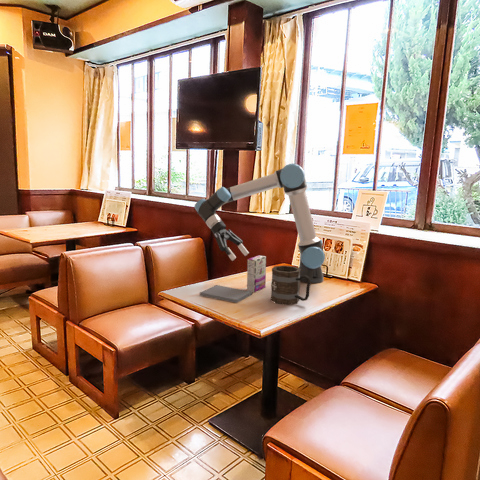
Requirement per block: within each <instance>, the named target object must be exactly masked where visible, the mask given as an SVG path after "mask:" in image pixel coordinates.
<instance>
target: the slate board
mask: <svg viewBox="0 0 480 480" xmlns="http://www.w3.org/2000/svg"><path fill="white" fill-rule="evenodd" d="M252 294H253V292H252V291H247V289H246V290H245V289H239V288H235V287H229V286H224V285H218V284H215V285H214V286H212V287H209V288H207V289H205V290H203V291H200V292H199V296H201V297H206V298H210V299H215V300H219V301H226V302H231V303H234V304H238V303H239V302H241V301H242V300H244V299H246V298H247V297H250V296H252Z"/></svg>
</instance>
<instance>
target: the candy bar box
mask: <svg viewBox="0 0 480 480" xmlns="http://www.w3.org/2000/svg"><path fill="white" fill-rule="evenodd" d="M246 261H247V263H246V264H247V266H246V267H247V270H246V271H247V272H246V274H247V275H246V276H247V277H246V281H247V283H246V291H252V293H257V292H259V291H261V290H263V289H264V288H266V278H267V277H266V275H267V274H266V273H267V272H266V271H267V256H265V255H256V256H254V257H253V256H252V257H250V258H248V259H247V260H246Z"/></svg>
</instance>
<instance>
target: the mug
mask: <svg viewBox="0 0 480 480" xmlns="http://www.w3.org/2000/svg"><path fill="white" fill-rule="evenodd" d="M300 271H301V269H299V267H296V266H292V265H277V266H273V267H272V268H271V275H272V276H271V283H270V284H271V291H270V292H271V293H270V294H271V296H270V301H271V302H273V303H274V302H275V304H277V305H285V306H290V305H297V304H298V303H299V302H300V301H302V302H304V301H307V300H308V299H309V297H310V290H311V284H312V283H311V282H310V278H309V277H308V276H307V275H304V276H301V277H300ZM303 278H306V279H307V283H306V287H305V288H306V289H305V296H304V297H303V296H301V295H300V286H301V281H300V280H302V279H303Z"/></svg>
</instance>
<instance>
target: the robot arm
mask: <svg viewBox="0 0 480 480" xmlns="http://www.w3.org/2000/svg"><path fill="white" fill-rule="evenodd" d="M305 176H306V173H305V171H304V169H303V168H302V166H301V165H299V164H298V163H289V164H285V166H284V167H282V168H281V169H278V170H277V169H276V170H274V173H271V174H268V175H266V176H265V175H264V176H262V177H259V178H255V179H252V180H249V181H246V182H244V183H240V184H237V185H233V186H230V187H228V188H226V187H224V186H221V187H220V188H219V189H217V190H216V191H215V192H214V193H213V194H211V195H210V197H208V198H207V199H205V198H200V200H198V201H196V203H195V204H194V209H195V211H196V212H197V215H198V216H199V217H200V218H201V219H202V220H203V222H204V223H205V224H206V226H207V227H208V228H209V229H210V231H211V232H212V234H213V237H214V239H215V241H216V243H217V245H218V247H219V250H220V251H221V252H225V254H226V255H227V256H228V258H229V259H230V261H232V262H233V261H235V259H236V258H237V256H236V255H235V253H234V252H233V251H232V250H231V249H230V247H228V245H227V241H230V242H231V243H233V244H235V245H237V247H238V249H239V251H240V252H241V253H242V255H244V257H246V256H248V254H250V252H249V251H248V250H247V248H246V247H245V246H244V244H243V243H244V241H243V240H242V239H241V238H240V237H239V236H238V235H236V234H235V233H234V232H233V231H232V230H231V229H228V230H227V229H226V228H227V226H226V224H225V222H224V221H223V220H222V218H221V217H220V216H219V215H218V214H217V213H216V211H218V210H219V209H220V208H221V207H222V206H223V205H225V204H227V203H231V202H234V201H237V200H240V199H245V198H246V197H250V196H254V195H257V194H259V193H262V192H265V191H270V190H273V189H276V188H279V189H283V191H284V194H285V195H286V196H288V199H289V203H290V206H291V210H292V215H293V218H294V222H295V227H296V230H297V234H298V238H299V241H298V243H297V246H298V251H299V253H300V254H299V266H298V268H299V269H301V271H300V277H301V276H304V275H307V276H308V277H309V278H310V282H311V283H310V284H317V283H322V282H324V273H323V270H322V265H323V264H324V261H325V259H326V255H325V252H324V249H323V246H324V245H323V239H320V238H319V237H318V236H317V234H316V229H315V225H314V221H313V218H312V213H311V209H310V206H309V202H308V197H307V194H306V190H307V189H308V186H307V185H308V183H307V181H306V177H305ZM300 283H306V284H307V279H306V278H303V279H302V280H300Z"/></svg>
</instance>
